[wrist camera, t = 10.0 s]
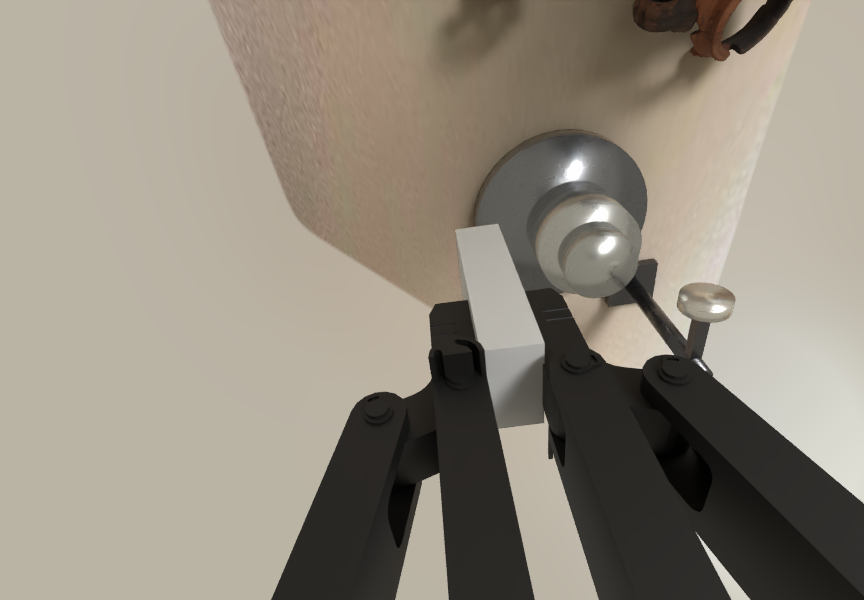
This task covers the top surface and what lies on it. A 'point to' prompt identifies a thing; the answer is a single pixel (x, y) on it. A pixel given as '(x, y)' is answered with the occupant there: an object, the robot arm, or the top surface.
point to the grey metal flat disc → (545, 169)
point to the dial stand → (693, 302)
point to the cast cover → (584, 239)
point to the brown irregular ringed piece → (708, 23)
